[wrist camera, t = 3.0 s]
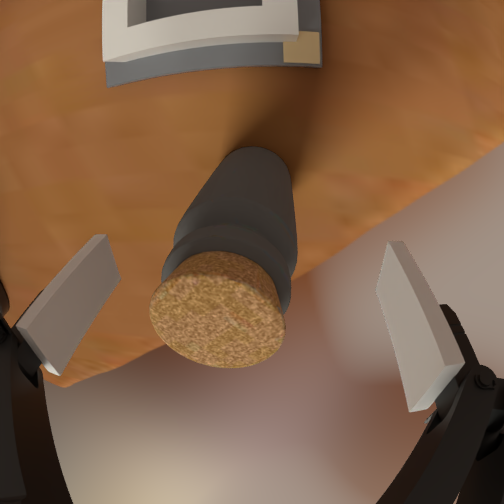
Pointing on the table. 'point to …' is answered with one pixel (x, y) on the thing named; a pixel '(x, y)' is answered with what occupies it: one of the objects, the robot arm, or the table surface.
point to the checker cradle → (207, 36)
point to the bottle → (231, 265)
